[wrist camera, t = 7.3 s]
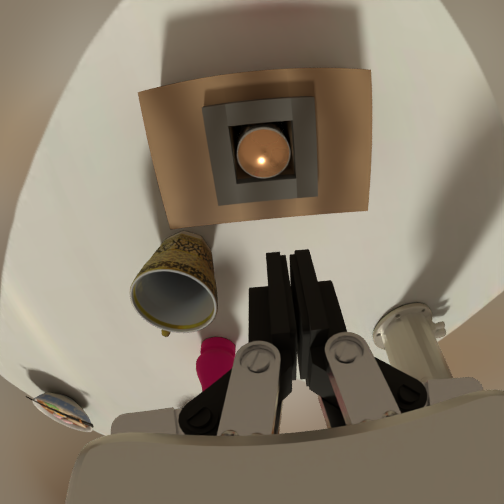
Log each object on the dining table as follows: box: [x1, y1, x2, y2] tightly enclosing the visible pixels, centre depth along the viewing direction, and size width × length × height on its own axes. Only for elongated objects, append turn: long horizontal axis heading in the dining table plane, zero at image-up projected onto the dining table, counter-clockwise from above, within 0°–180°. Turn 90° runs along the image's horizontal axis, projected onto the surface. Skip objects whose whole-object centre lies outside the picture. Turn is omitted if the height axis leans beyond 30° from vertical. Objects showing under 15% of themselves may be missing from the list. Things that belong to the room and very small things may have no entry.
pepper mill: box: [196, 337, 235, 392], centre depth 43 cm, size 7×7×20 cm
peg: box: [237, 122, 290, 178], centre depth 26 cm, size 4×4×8 cm
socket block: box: [138, 68, 372, 229], centre depth 27 cm, size 20×14×8 cm
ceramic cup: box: [130, 231, 218, 337], centre depth 36 cm, size 13×10×10 cm
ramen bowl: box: [27, 393, 93, 432], centre depth 70 cm, size 25×23×8 cm
